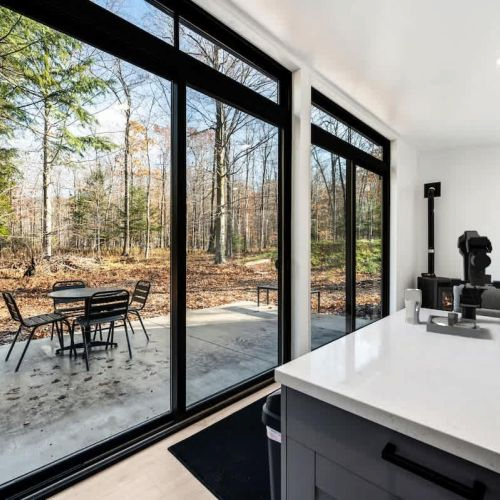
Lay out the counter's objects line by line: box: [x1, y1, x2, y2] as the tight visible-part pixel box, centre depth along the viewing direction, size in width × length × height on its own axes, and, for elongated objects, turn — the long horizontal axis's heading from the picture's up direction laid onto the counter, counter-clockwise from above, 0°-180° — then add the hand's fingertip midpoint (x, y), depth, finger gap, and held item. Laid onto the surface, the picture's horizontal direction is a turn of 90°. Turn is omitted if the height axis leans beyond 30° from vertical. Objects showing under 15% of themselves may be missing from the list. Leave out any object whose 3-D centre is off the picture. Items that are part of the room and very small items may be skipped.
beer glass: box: [403, 288, 423, 325], centre depth 145 cm, size 7×7×15 cm
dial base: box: [425, 314, 482, 340], centre depth 133 cm, size 18×18×4 cm
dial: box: [432, 312, 475, 329], centre depth 132 cm, size 17×15×5 cm
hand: (476, 304), depth 132 cm, fingers closed
